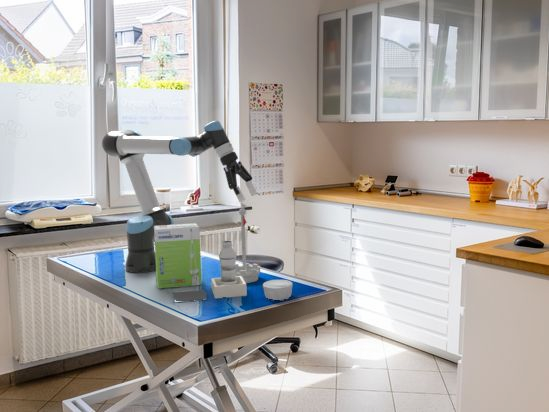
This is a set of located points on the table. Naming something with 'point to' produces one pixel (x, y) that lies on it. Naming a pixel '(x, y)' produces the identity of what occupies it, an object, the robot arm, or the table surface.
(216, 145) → the robot arm
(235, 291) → the white square tray
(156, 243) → the green white carton
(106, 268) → the table surface
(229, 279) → the plastic bottle
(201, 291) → the rubber mat
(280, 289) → the ramekin
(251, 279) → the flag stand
